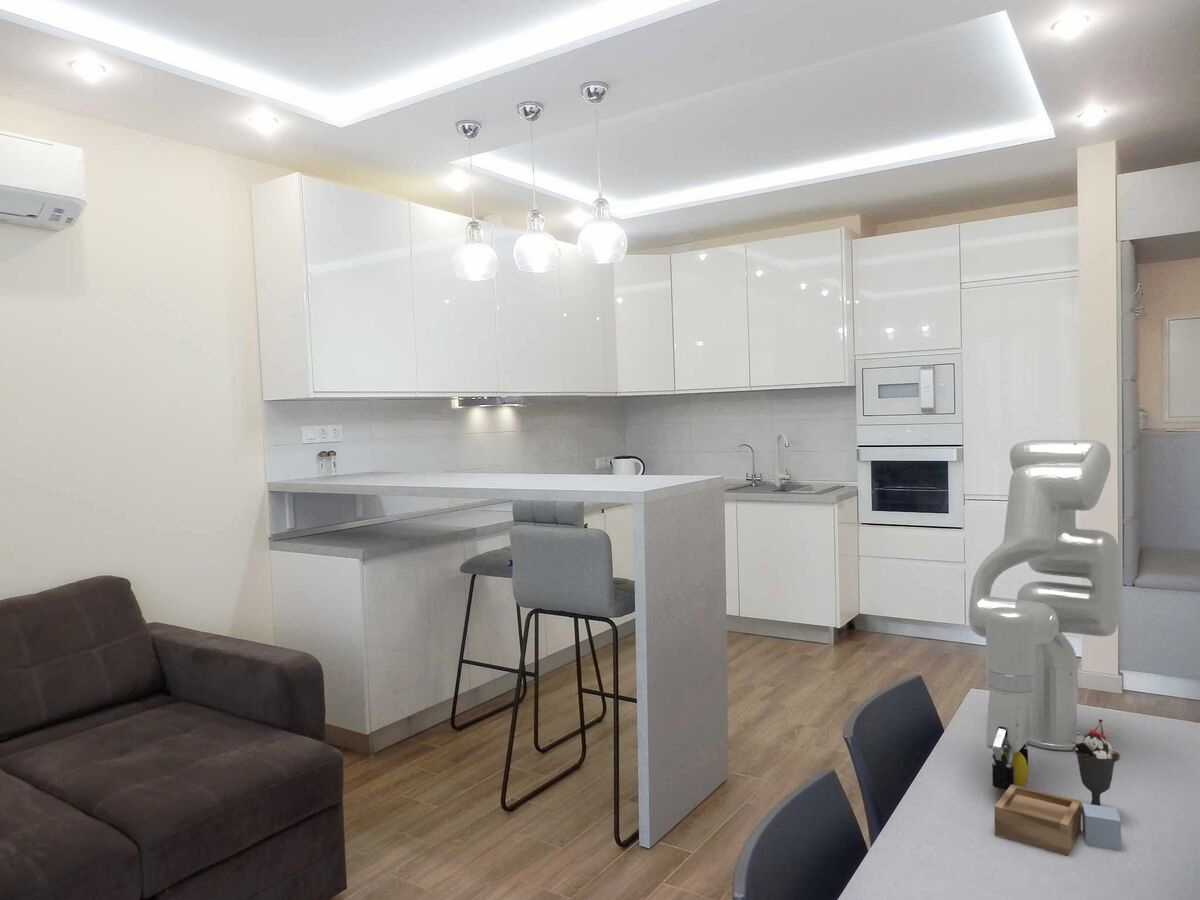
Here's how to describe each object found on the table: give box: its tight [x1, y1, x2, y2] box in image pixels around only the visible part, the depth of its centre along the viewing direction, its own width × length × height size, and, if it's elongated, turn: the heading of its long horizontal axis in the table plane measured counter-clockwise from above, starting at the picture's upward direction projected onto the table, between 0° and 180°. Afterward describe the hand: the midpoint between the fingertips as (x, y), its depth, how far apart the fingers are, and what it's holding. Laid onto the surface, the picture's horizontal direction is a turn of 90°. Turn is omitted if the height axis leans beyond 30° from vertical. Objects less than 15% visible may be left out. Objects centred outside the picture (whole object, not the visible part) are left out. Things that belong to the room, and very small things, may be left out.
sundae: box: [1072, 719, 1121, 815], centre depth 133 cm, size 7×7×15 cm
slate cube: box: [1081, 802, 1122, 852], centre depth 125 cm, size 4×4×4 cm
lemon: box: [1003, 746, 1029, 787], centre depth 142 cm, size 6×6×8 cm
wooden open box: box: [994, 784, 1082, 857], centre depth 128 cm, size 10×10×4 cm
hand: (1010, 779), depth 142 cm, fingers open, 9 cm apart
